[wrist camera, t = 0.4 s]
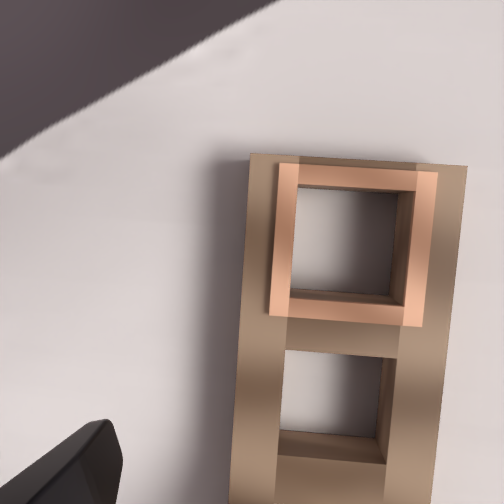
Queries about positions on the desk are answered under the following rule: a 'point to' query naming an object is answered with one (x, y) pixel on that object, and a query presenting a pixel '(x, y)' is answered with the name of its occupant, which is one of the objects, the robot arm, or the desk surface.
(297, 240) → the desk surface
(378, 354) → the walnut hole board
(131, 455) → the desk surface
